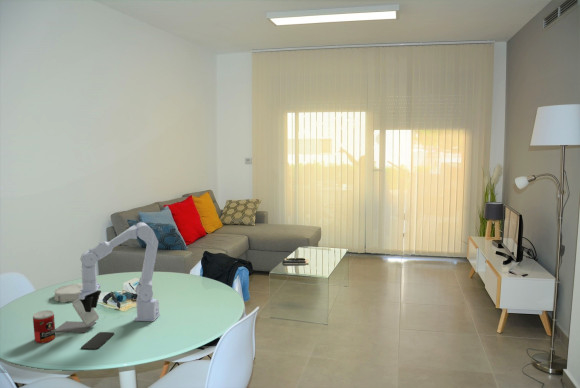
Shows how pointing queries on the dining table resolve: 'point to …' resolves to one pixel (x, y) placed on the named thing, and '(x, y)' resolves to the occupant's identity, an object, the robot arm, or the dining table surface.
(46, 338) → the canned food
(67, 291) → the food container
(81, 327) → the mat
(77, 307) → the skincare box
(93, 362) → the dining table surface
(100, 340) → the phone
